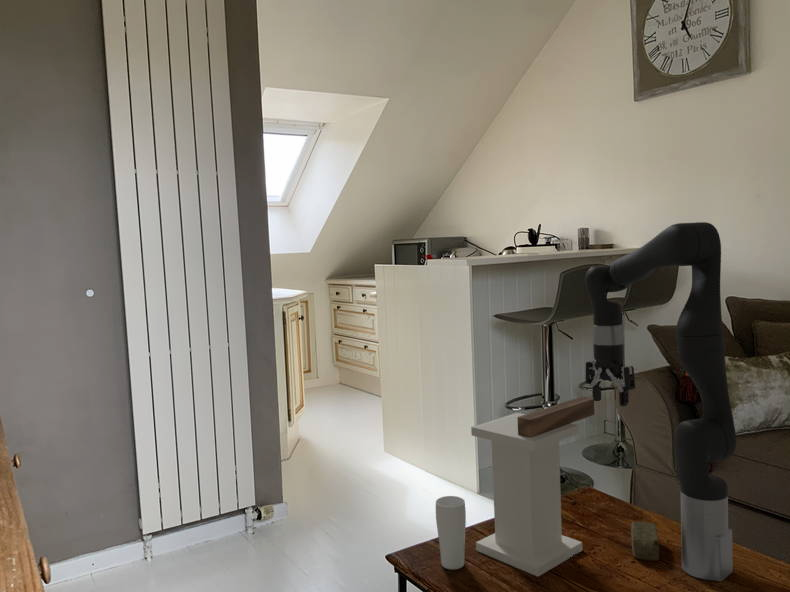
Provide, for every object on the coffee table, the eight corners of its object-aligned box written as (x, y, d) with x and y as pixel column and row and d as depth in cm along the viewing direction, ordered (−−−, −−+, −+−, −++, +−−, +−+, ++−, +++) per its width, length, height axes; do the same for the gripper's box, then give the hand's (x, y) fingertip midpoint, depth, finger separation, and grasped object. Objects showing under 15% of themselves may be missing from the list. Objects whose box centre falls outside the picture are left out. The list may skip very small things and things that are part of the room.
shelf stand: (582, 550, 154) (578, 425, 151) (537, 576, 143) (533, 441, 140) (521, 527, 167) (517, 412, 165) (476, 550, 156) (471, 427, 154)
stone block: (633, 561, 148) (632, 539, 148) (630, 539, 159) (630, 519, 159) (660, 563, 146) (660, 541, 146) (656, 541, 157) (655, 520, 157)
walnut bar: (594, 414, 160) (594, 398, 159) (530, 437, 143) (530, 419, 143) (581, 412, 162) (581, 396, 162) (518, 434, 146) (517, 417, 146)
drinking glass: (472, 561, 151) (469, 498, 150) (460, 575, 145) (457, 509, 144) (446, 555, 154) (443, 493, 153) (432, 568, 148) (430, 504, 147)
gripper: (640, 342, 167) (642, 405, 168) (596, 338, 179) (598, 396, 180) (620, 346, 163) (622, 410, 164) (577, 341, 175) (579, 401, 176)
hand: (610, 403), depth 172 cm, fingers open, 8 cm apart
